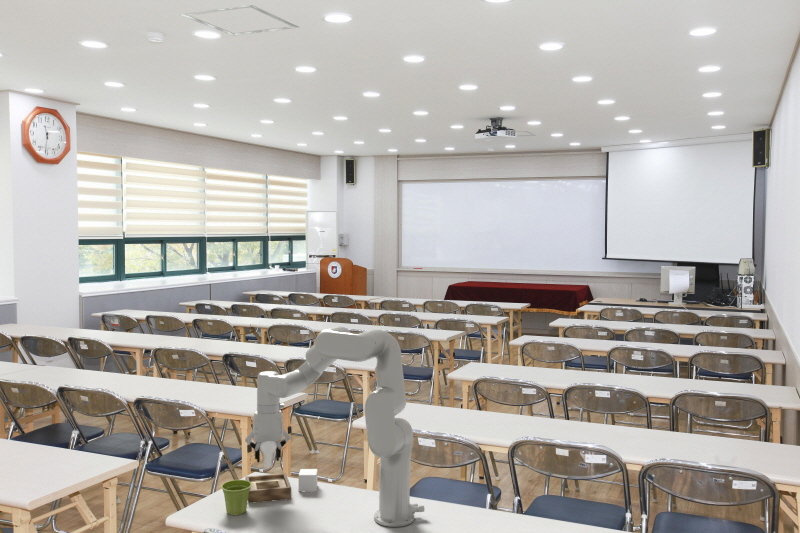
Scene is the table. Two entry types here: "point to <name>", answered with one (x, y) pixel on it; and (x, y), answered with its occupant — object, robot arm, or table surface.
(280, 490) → the socket box
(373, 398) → the robot arm
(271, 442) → the lightbulb
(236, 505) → the plant pot
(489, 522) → the table surface
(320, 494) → the table surface
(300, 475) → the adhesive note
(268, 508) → the table surface
